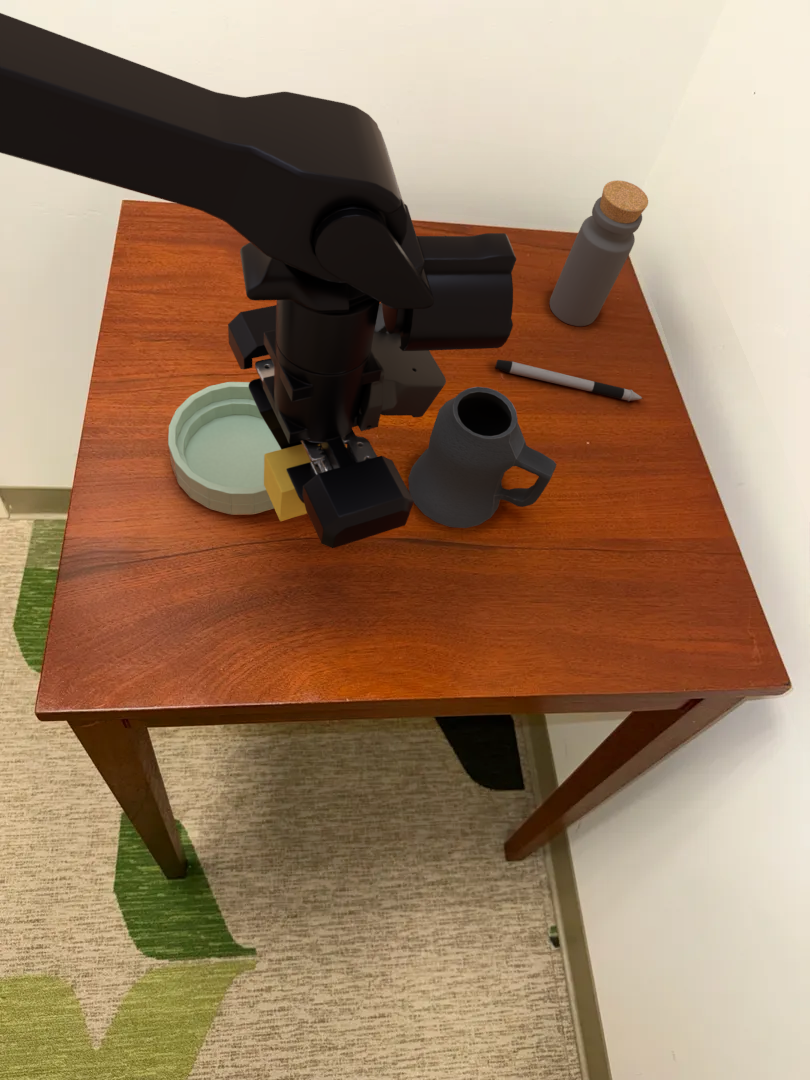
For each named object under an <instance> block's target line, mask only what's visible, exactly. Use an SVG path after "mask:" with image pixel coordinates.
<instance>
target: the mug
mask: <svg viewBox="0 0 810 1080" xmlns="http://www.w3.org/2000/svg"><path fill="white" fill-rule="evenodd" d="M517 413H518V412H517V409H516V408H515V406H514V404H513V403H512V401H511V400H510V399H509V398H508V397H507V396H506V395H505V394H503V393H501V392H499V391H498V390H496V389H493V388H490V387H487V386H486V387H485V386H474V387H469V388H466V389H465V390H462V391H460V392H459V393H457V395H456V396H455V397H453V398H451V399H449V400H447V401H446V402H444V404H443V405H442V406H441V407H440V408H439V410H438V413H437V415H436V417H435V422H434V424H433V428H432V431H431V434H430V437H429V442H428V447H427V448H426V449H425V450H424V452H423V453H422V454H421V455H420V456H419V457H418V458H417V460H416V461H415V462H414V464H413V465H412V467H411V469H410V473H409V475H408V479H407V480H408V491H409V493H410V495H411V497H412V498H413V500H414V502H413V504H415V506H416V507H417V508H418V509H419V510H420V512H421V513H422V515H424V516H426V517H428V518H429V519H430V520H432V521H434V522H435V523H438V524H439V525H443V526H446V527H449V528H457V529H458V528H459V529H461V528H462V529H467V528H472V527H476V526H480V525H482V524H483V523H484V522H486V521H488V520H490V519H491V518H492V517H493V515H494V514H495V513H496V512H497V510H498V509H499V506H500V502H501V501H502V500H503V501H505V502H508V503H510V504H512V505H515V506H517V507H520V508H524V507H528V506H532V505H534V504H535V503H536V502H537V501H538V499H539V497H540V496H541V495H542V494H543V492H544V491H545V489H546V488H547V486H548V484H549V483H550V481H551V480H552V477H553V474H554V472H555V470H556V468H557V463H556V461H554V459H552V458H550V457H548V456H547V455H546V454H544V453H543V452H540V451H539V450H536V449H533V448H532V447H530V446H528V445H527V442H526V439H525V437H524V434H523V432H522V429H521V426H520V424H519V420H518V414H517ZM513 467H517V468H519V469H522V470H525V471H527V472H529V473H531V474H533V475H536V476H537V477H538V478H537V479H536V480H535V482H534V484H533V485H531V486H529V487H514V488H509V489H507V488H504V487H503V483H502V481H503V478H504V476H505V473H506V472H507V471H508V470H510V469H511V468H513Z"/></svg>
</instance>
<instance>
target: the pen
mask: <svg viewBox="0 0 810 1080" xmlns="http://www.w3.org/2000/svg"><path fill="white" fill-rule="evenodd" d="M495 369H497V370H499V371H502V372H506V373H507V374H513V375H516V376H522V377H526V378H530V379H535V380H538V381H543V382H547V383H552V384H556V385H561V386H563V387H569V388H573V389H577V390H582V391H587V392H590V393H594V394H598V395H603V396H606V397H611V398H614V399H619V400H624V401H627V402H630V401H637V400H638V401H639V400H644V398H643V397H642V396H641V395H639V394H638V393H637V392H635V391H633V389H626V388H625V387H620V386H616V385H611V384H607V383H603V382H598V381H596V380H595V381H594V380H590V379H585V378H583V377H582V378H581V377H577V376H573V375H569V374H564V373H560V372H557V371H554V370H553V371H552V370H549V369H544V368H541V367H536V366H534V365H533V366H532V365H528V364H524V363H520V362H515V361H513V360H505V359H497V360H496V363H495Z"/></svg>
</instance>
